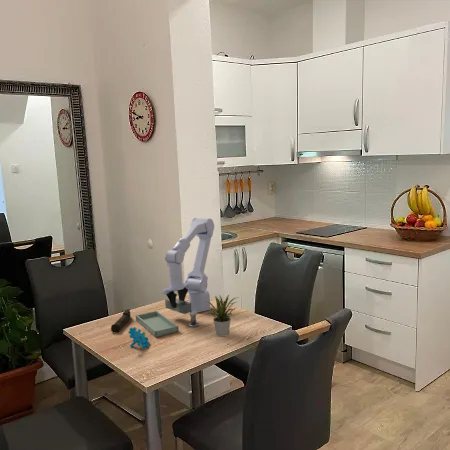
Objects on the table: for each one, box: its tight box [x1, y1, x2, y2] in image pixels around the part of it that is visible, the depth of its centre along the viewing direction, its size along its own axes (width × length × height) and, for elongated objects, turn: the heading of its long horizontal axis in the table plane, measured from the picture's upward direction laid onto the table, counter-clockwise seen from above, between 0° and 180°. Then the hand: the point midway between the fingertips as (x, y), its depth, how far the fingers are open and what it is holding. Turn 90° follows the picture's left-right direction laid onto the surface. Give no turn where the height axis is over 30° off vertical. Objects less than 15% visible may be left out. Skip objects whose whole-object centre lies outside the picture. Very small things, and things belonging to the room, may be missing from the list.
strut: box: [164, 297, 192, 315], centre depth 204 cm, size 4×14×4 cm, turn 45°
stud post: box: [188, 310, 200, 328], centre depth 197 cm, size 4×4×7 cm
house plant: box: [207, 294, 240, 337], centre depth 185 cm, size 14×14×16 cm
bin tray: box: [135, 310, 179, 338], centre depth 199 cm, size 10×24×2 cm, turn 30°
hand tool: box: [110, 309, 131, 334], centre depth 202 cm, size 19×4×5 cm, turn 171°
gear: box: [128, 327, 151, 349], centre depth 178 cm, size 11×6×10 cm
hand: (177, 306), depth 205 cm, fingers closed on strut, 4 cm apart
